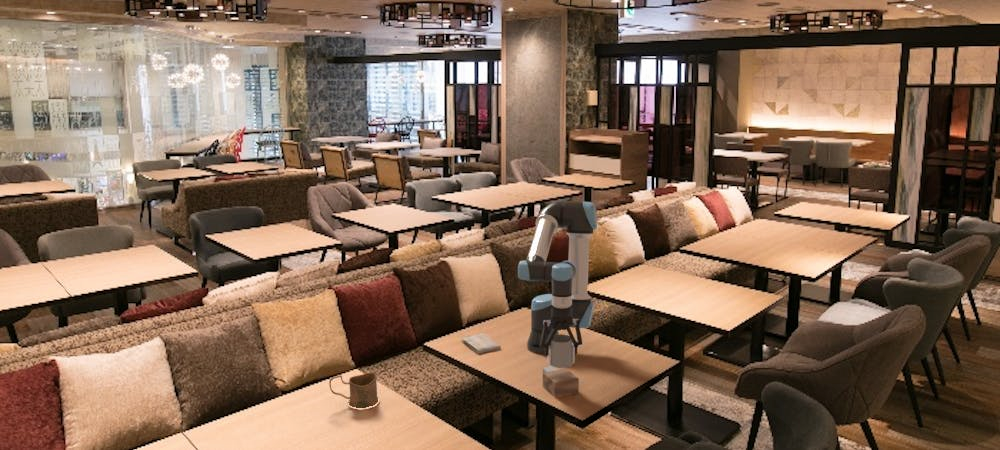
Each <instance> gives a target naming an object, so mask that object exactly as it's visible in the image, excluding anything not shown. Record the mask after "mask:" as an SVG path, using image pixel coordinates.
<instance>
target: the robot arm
mask: <svg viewBox="0 0 1000 450" xmlns="http://www.w3.org/2000/svg"><path fill="white" fill-rule="evenodd" d="M597 216H598V215H597V208H596V205H595V204H594V203H593V202H592V201H591V202H590V201H584V200H583V201H582V200H581V201H573V200H571V201H569V200H556V201H553V202H551V203H548V204H547V205H546V206H545V207H543V208H542V209H541V211H539V213H538V215H537V217H536V220H535V231H534V235H533V238H532V241H531V244H530V247H529V250H528V254H527V257H526V260H520V261H519V263H518V265H517V276H518V279H519V280H522V281H523V280H524V281H527V282H546V283H551V293H545V294H541V295H536V296H535V297H533V299H532V300H531V307H530V310H531V313H530V314H531V317H530V318H531V323H530V324H531V325H530V326H531V327H530V329H531V330H530V333H529V336H528V339H527V343H526V344H527V347H526V348H527V349H528V350H529V351H530V352H532V353H536V354H544V355H545V357H546V362H547V365H549V366H551V348H550V344H551V340H553V338H554V336H555V335H557V334H560V333H559V331H566V332H567V333H568V336H570V338H571V340H572V365H575V358H576V357H575V355H577V354H578V348H579V346H582V345H583V340H582V333H581V329H588V328H590V326H591V323H592V320H593V315H594V307H595V302H594V301H592V300H591V299H592V297H591V295H590V294H588V290H589V289H588V286H589V285H588V284H589V260H590V257H589V255H590V238H591V237H592V236H593V235H594V231H595V230H597V229H598V217H597ZM557 229H565V234H566V235H567V236H568V239H569V240H568V260H563V261H562V262H553V261H551V262H550V261H547V258H548V255H549V252H550V248H551V244H552V240H553V237H554V234H555V232H556V231H557ZM571 328H575V334H576V338H575V336H574V334H573V332H572V330H571ZM576 339H577V340H576Z"/></svg>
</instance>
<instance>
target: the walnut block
mask: <svg viewBox="0 0 1000 450" xmlns="http://www.w3.org/2000/svg"><path fill="white" fill-rule="evenodd" d="M579 383H580V378H579V377H578V376H576V375H575V374H573V373H572V372H571V371H570V370H569V369H567V368H560V369H558V370H555V371H550V372H545V373H543V372H542V388H543V389H544V390H546V391H547V392H548V393H549V394H550V396H552V397H553V398H554V399H556V398H561V397H564V396H565V395H566V396H569V394H570V395H574V393H575V394H579V386H580V385H579Z"/></svg>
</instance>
